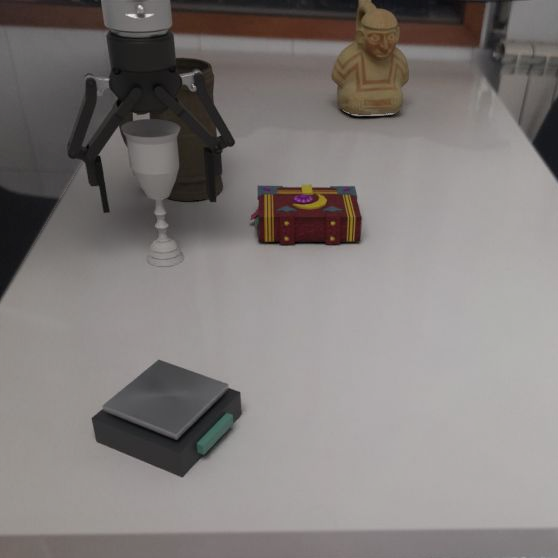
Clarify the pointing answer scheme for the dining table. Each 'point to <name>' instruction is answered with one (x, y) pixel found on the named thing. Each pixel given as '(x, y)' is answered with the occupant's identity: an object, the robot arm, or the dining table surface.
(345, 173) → the dining table surface
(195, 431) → the scale
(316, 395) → the dining table surface
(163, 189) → the chalice
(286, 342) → the dining table surface
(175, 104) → the robot arm
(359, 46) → the ceramic vessel
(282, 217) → the decorative book
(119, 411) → the scale pan
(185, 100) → the beer stein
